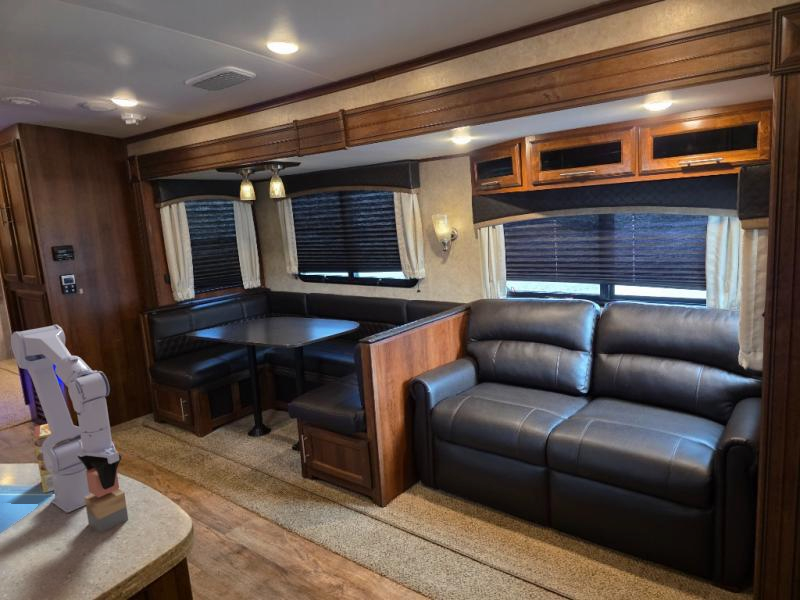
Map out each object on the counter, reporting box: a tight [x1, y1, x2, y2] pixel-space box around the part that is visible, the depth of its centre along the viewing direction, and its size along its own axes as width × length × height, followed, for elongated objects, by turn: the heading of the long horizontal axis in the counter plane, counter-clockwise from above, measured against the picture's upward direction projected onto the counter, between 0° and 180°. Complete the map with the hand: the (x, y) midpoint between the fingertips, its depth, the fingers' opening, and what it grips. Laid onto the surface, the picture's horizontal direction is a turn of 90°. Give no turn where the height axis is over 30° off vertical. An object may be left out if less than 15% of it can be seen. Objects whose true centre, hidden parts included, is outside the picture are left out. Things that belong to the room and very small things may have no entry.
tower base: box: [86, 506, 129, 534], centre depth 119 cm, size 6×6×4 cm
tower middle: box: [85, 488, 127, 519], centre depth 118 cm, size 6×6×4 cm
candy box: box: [32, 423, 57, 494], centre depth 135 cm, size 9×4×15 cm, turn 33°
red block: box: [86, 468, 120, 498], centre depth 117 cm, size 4×4×5 cm
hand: (103, 484), depth 117 cm, fingers closed on red block, 4 cm apart
